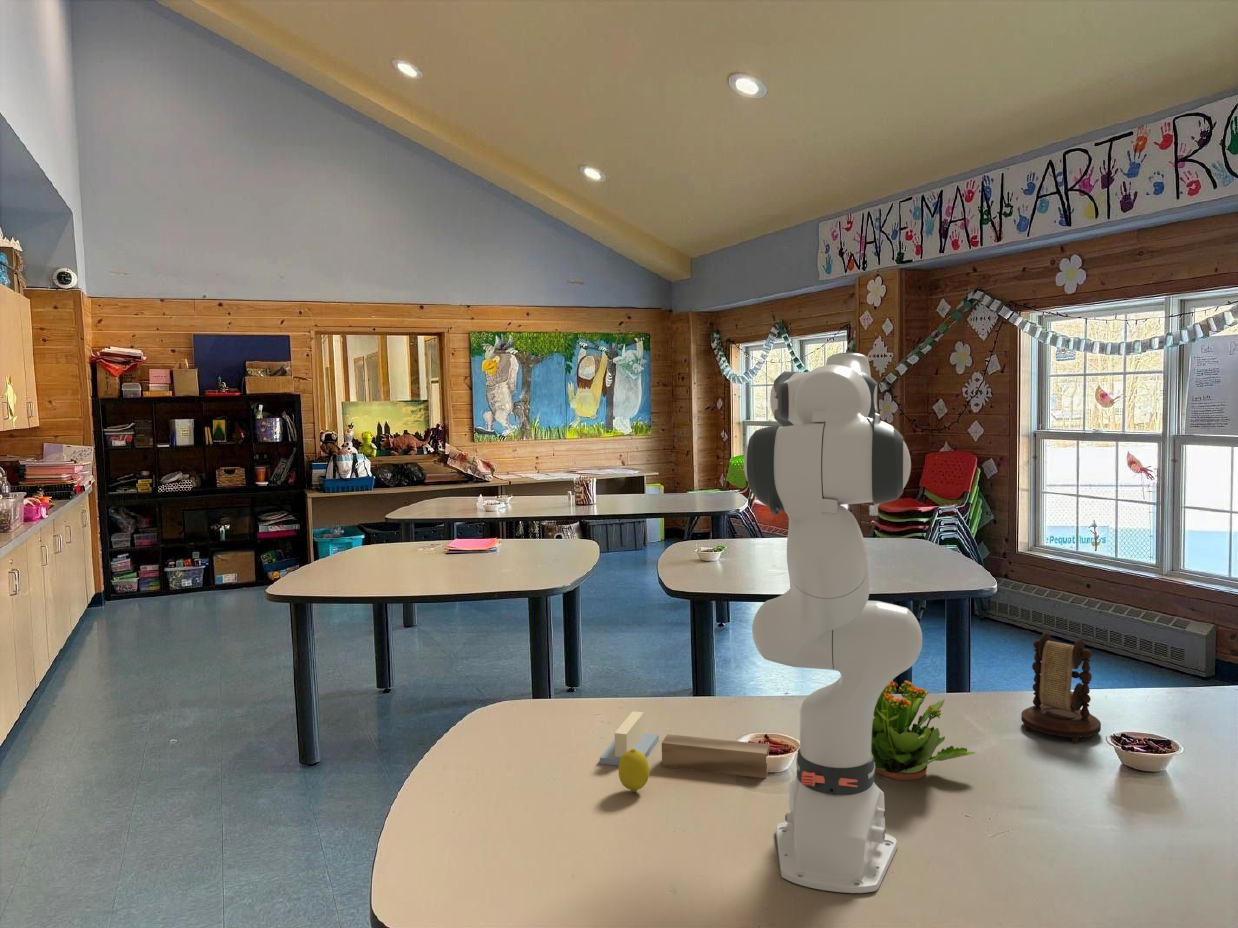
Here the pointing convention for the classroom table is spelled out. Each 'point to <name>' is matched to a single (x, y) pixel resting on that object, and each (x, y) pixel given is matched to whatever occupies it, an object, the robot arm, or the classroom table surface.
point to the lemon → (633, 770)
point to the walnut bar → (715, 755)
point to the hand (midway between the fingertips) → (847, 514)
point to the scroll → (1061, 691)
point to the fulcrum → (629, 740)
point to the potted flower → (906, 734)
